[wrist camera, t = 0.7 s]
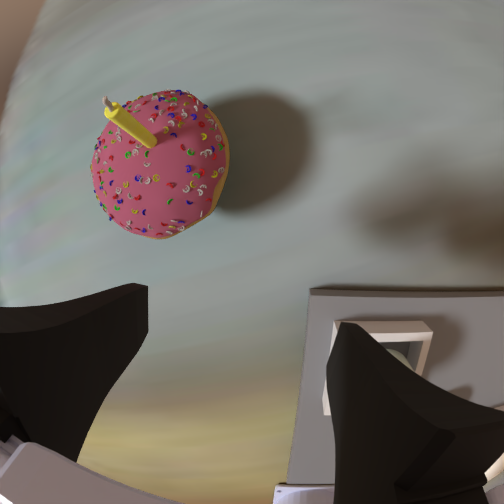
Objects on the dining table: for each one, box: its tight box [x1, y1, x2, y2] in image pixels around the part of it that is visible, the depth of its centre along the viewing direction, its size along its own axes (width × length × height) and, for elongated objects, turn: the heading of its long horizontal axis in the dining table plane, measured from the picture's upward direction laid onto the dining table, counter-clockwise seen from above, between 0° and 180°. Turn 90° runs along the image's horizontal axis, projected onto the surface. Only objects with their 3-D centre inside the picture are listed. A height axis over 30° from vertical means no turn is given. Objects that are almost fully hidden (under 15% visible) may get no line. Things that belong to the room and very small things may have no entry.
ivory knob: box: [485, 453, 504, 481], centre depth 16 cm, size 4×4×4 cm
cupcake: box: [90, 89, 230, 239], centre depth 14 cm, size 9×8×12 cm
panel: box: [287, 289, 504, 484], centre depth 19 cm, size 20×24×4 cm
